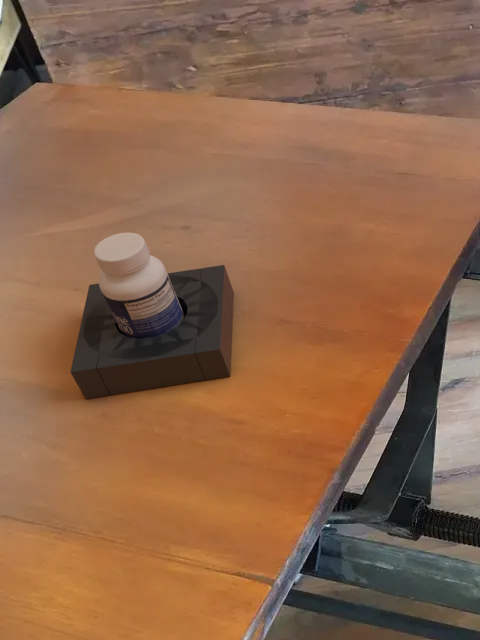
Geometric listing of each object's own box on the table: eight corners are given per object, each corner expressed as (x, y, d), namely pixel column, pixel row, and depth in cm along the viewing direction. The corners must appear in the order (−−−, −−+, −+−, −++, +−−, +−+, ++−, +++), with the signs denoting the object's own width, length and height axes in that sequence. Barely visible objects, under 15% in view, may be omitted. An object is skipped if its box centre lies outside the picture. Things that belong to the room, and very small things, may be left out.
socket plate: (85, 399, 74) (70, 372, 71) (102, 311, 81) (89, 284, 79) (230, 376, 74) (220, 349, 72) (233, 291, 82) (224, 264, 80)
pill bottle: (124, 335, 79) (78, 240, 72) (183, 315, 80) (144, 219, 73) (137, 370, 76) (90, 274, 68) (198, 348, 77) (159, 252, 70)
